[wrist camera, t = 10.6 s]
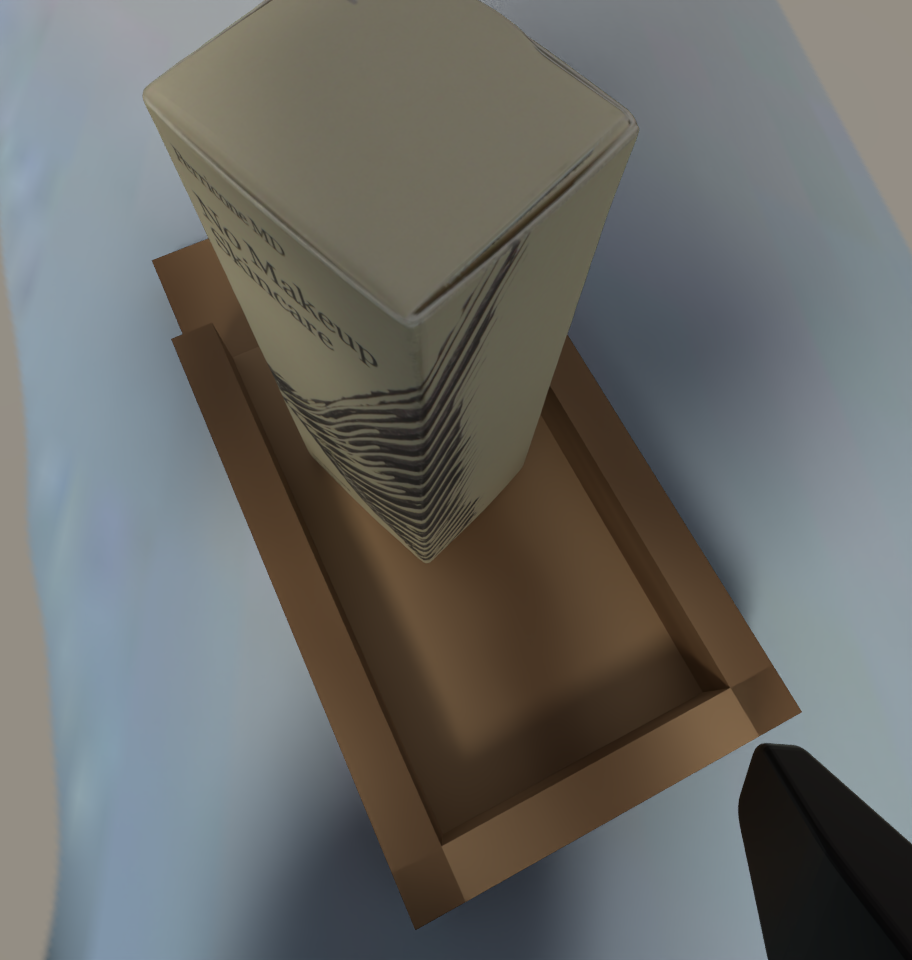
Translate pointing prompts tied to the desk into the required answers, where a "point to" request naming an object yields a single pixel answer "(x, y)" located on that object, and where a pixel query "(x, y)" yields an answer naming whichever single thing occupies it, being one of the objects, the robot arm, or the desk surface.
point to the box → (399, 231)
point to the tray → (486, 623)
